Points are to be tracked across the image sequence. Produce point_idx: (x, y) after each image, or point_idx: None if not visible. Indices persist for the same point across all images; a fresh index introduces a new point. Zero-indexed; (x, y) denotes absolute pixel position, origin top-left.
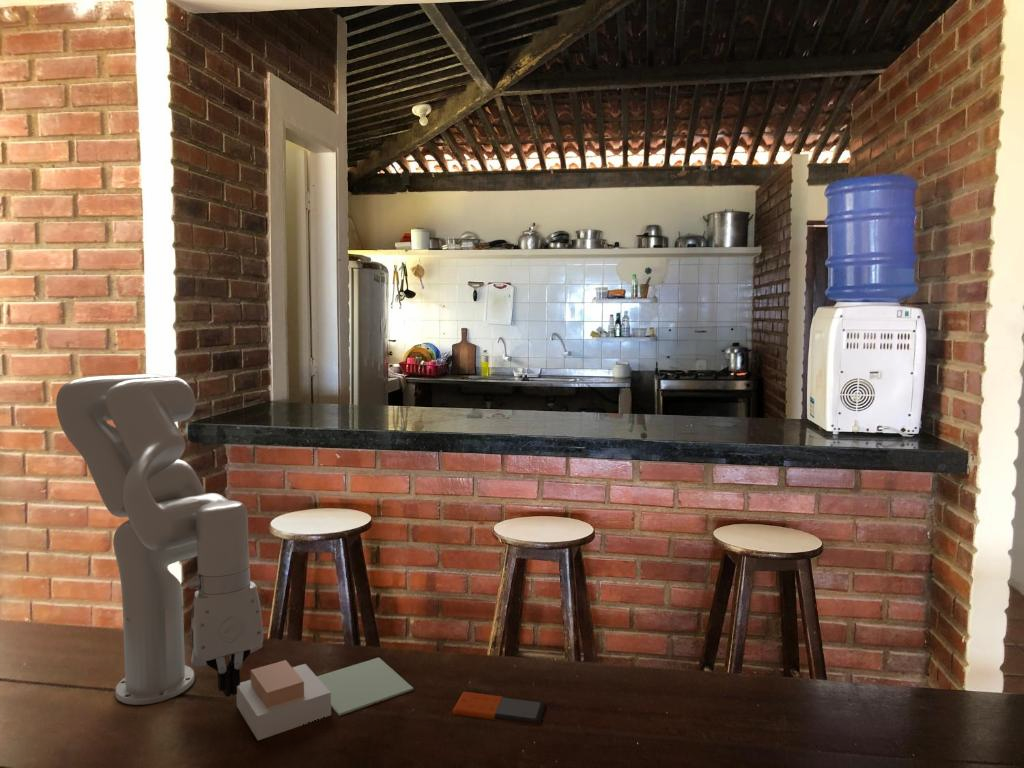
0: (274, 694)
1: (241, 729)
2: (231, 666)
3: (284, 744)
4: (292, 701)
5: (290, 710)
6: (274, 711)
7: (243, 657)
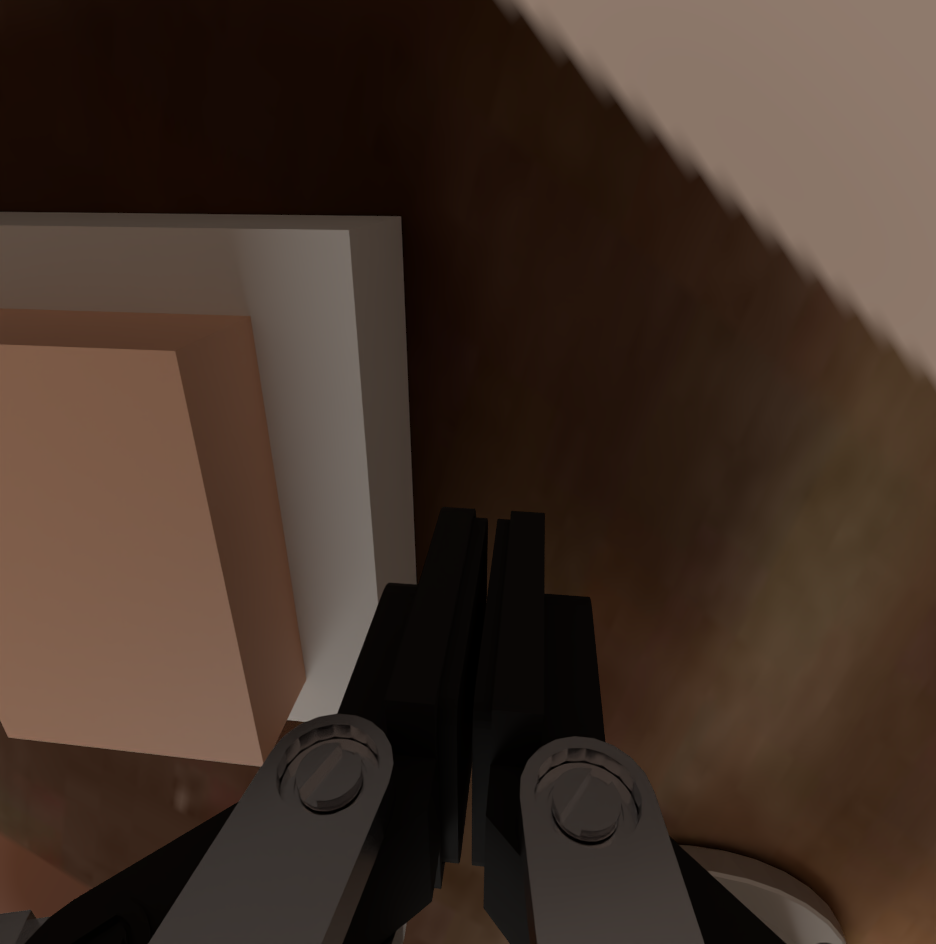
0: (128, 335)
1: (455, 409)
2: (427, 803)
3: (251, 41)
4: (49, 281)
5: (98, 223)
6: (204, 227)
7: (195, 880)
